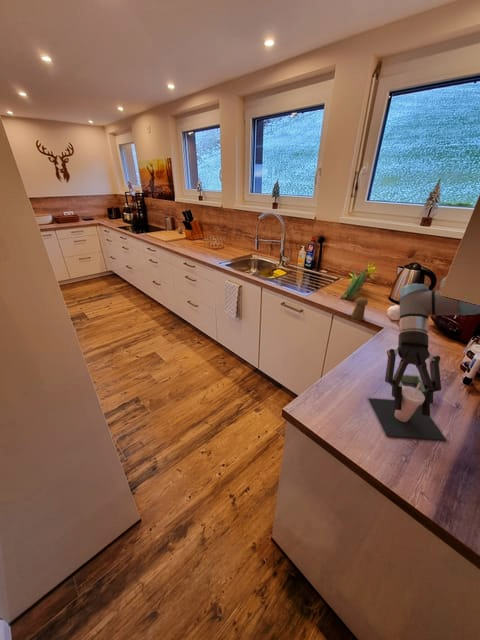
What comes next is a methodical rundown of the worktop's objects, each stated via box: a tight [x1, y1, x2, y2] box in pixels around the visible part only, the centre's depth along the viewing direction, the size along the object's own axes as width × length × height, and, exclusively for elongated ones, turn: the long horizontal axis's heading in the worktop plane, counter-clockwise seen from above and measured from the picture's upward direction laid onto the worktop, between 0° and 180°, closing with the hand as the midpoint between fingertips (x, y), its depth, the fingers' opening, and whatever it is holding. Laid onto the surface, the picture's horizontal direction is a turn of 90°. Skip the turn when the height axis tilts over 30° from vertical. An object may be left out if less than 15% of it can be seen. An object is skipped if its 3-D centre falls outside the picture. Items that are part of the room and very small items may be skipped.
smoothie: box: [395, 383, 425, 422], centre depth 76 cm, size 6×6×14 cm
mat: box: [368, 398, 447, 442], centre depth 79 cm, size 16×14×1 cm
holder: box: [393, 373, 425, 392], centre depth 90 cm, size 8×8×3 cm
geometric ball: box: [386, 304, 400, 321], centre depth 134 cm, size 8×8×8 cm
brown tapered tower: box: [350, 296, 368, 322], centre depth 133 cm, size 6×6×11 cm
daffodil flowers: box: [341, 261, 377, 302], centre depth 164 cm, size 17×15×35 cm
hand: (411, 412), depth 73 cm, fingers closed on smoothie, 6 cm apart
